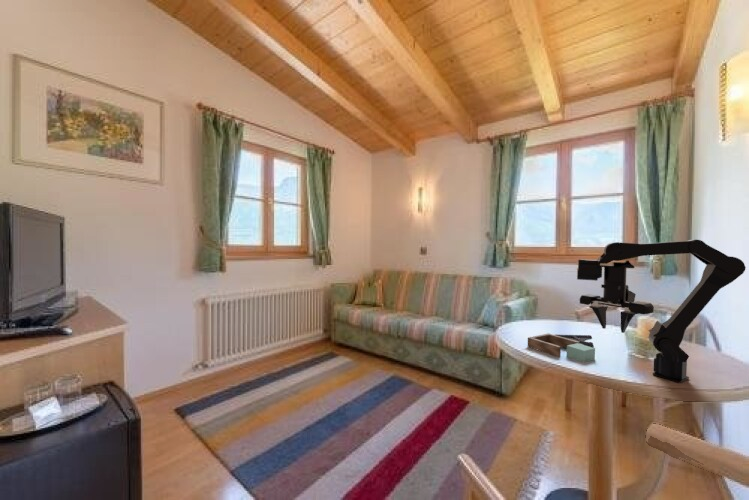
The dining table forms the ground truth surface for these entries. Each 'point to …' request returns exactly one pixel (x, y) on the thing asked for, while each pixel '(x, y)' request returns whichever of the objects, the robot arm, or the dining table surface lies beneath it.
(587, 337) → the bracket
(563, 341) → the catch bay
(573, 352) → the pale green block
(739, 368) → the dining table surface
